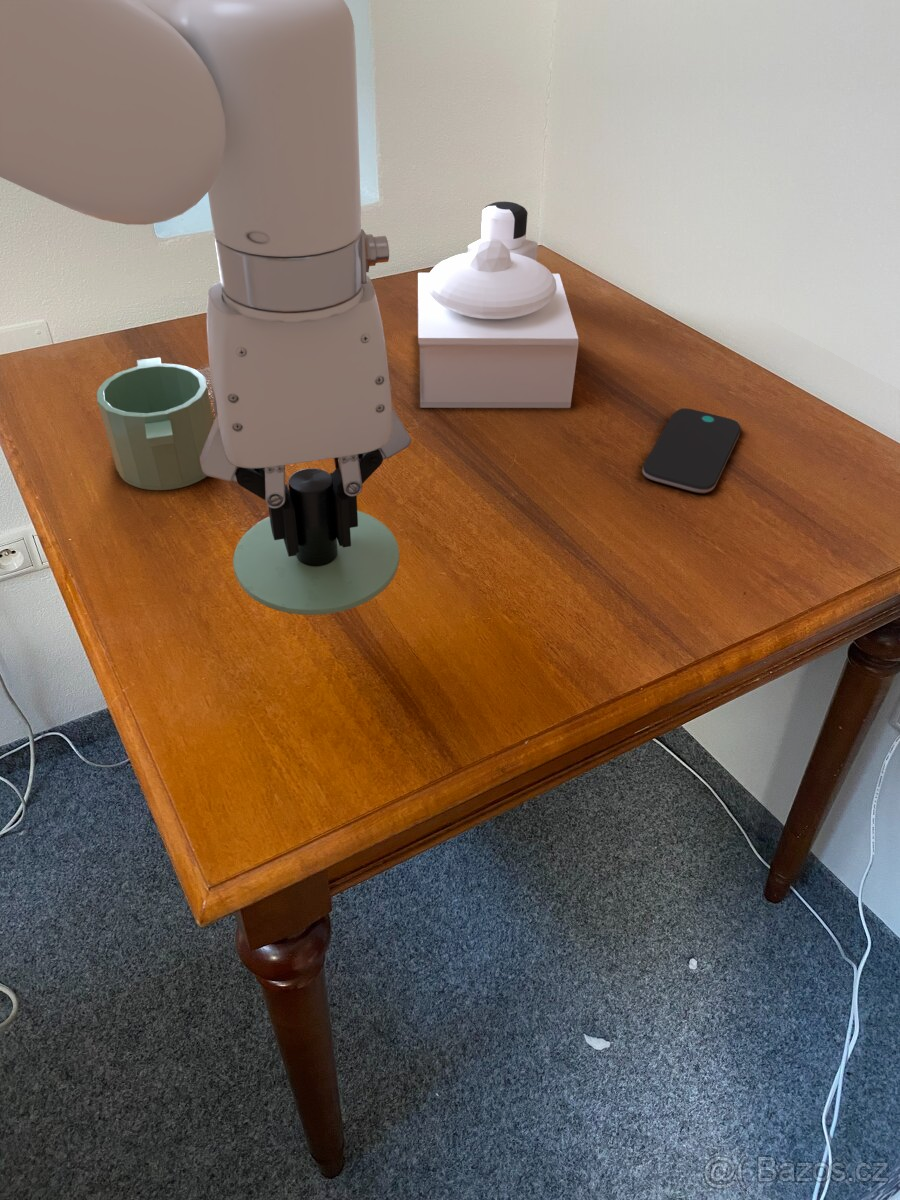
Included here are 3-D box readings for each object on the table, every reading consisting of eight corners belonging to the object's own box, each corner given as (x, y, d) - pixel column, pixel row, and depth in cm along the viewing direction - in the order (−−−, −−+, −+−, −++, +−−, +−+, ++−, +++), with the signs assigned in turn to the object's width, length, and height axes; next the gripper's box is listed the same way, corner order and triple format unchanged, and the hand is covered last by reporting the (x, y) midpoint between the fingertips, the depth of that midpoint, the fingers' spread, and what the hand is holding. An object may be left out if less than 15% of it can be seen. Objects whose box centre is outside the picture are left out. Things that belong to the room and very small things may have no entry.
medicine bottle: (493, 279, 128) (497, 193, 120) (534, 292, 125) (542, 204, 117) (464, 295, 123) (467, 207, 115) (507, 309, 120) (513, 219, 112)
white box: (553, 338, 114) (566, 212, 103) (570, 410, 101) (588, 274, 90) (418, 337, 114) (417, 211, 103) (418, 410, 100) (417, 273, 90)
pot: (121, 513, 85) (98, 438, 79) (114, 430, 96) (94, 358, 90) (229, 495, 88) (215, 421, 82) (211, 416, 98) (197, 346, 93)
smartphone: (744, 421, 98) (712, 491, 88) (742, 428, 98) (710, 498, 89) (677, 404, 100) (638, 470, 90) (676, 411, 101) (637, 477, 91)
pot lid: (247, 636, 55) (232, 548, 50) (225, 530, 63) (210, 446, 58) (418, 604, 58) (420, 517, 53) (376, 506, 66) (374, 423, 61)
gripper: (419, 229, 51) (416, 489, 63) (127, 252, 47) (185, 525, 59) (459, 280, 46) (448, 553, 58) (135, 311, 42) (197, 597, 54)
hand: (315, 537), depth 59 cm, fingers closed on pot lid, 2 cm apart
